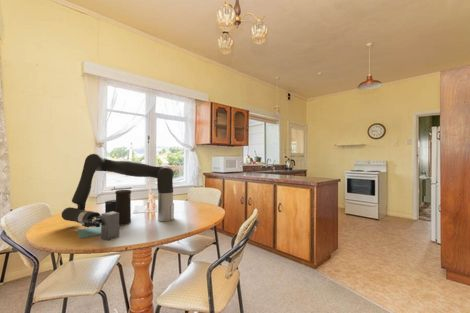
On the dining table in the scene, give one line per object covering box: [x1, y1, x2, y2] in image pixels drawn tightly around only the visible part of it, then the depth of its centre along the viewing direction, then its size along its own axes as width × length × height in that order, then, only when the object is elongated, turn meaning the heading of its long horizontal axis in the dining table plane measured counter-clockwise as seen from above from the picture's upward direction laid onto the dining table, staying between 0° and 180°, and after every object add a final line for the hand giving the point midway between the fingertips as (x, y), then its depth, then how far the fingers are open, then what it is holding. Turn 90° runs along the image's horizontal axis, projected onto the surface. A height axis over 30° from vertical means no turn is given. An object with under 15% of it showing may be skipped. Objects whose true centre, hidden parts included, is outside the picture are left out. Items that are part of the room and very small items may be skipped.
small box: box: [104, 199, 116, 213], centre depth 144 cm, size 13×7×12 cm, turn 84°
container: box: [114, 189, 132, 226], centre depth 136 cm, size 9×9×20 cm
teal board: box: [77, 225, 101, 239], centre depth 120 cm, size 13×13×1 cm
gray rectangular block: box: [100, 211, 120, 241], centre depth 112 cm, size 6×6×12 cm
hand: (107, 222), depth 113 cm, fingers open, 8 cm apart
